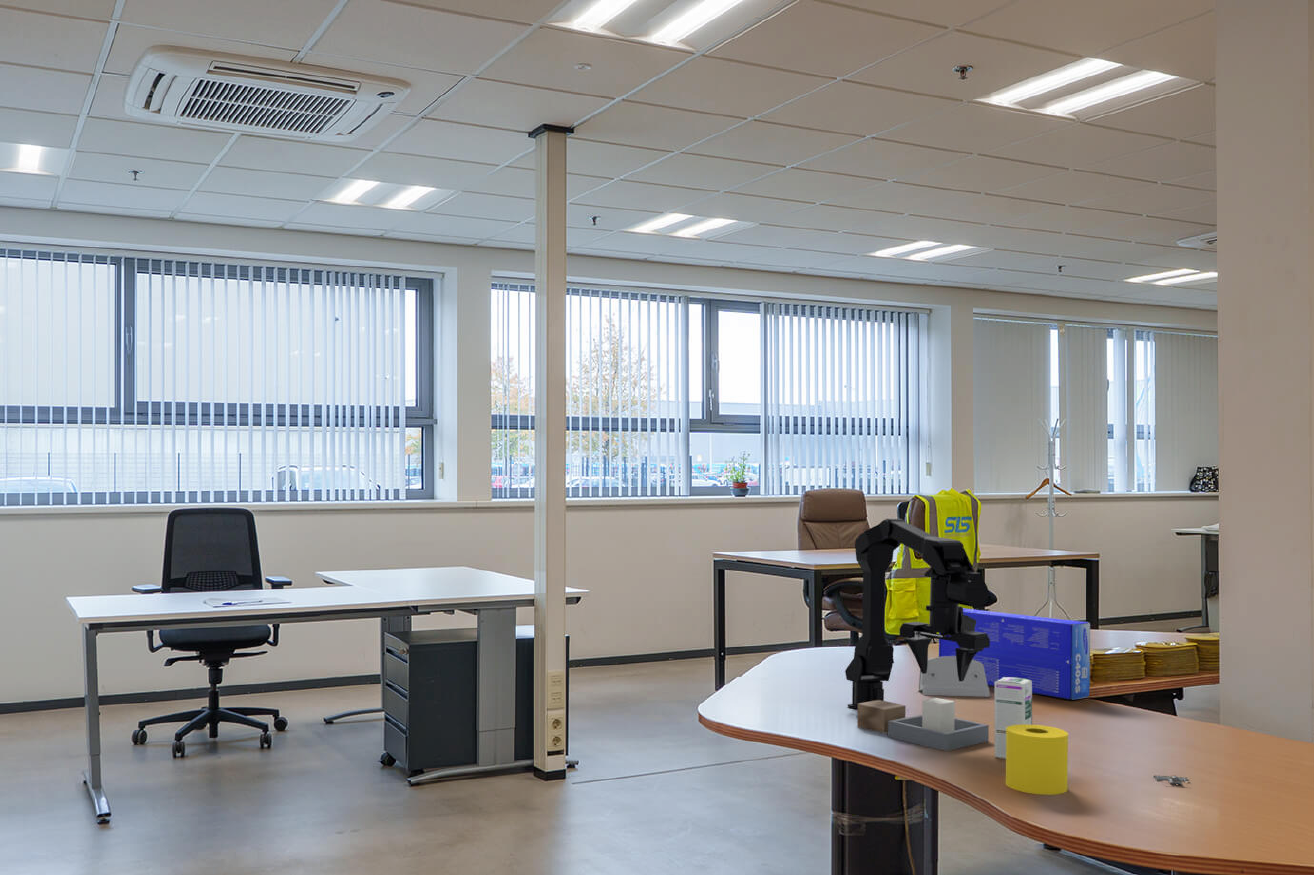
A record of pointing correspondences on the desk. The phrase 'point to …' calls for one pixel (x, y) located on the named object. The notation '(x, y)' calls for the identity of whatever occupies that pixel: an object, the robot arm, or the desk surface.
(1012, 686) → the syrup box
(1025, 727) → the yellow paper roll
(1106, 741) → the desk surface
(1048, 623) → the toner cartridge box
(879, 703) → the oversize block
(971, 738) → the sorting tray
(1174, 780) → the grey flat piece
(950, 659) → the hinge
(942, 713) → the small block
